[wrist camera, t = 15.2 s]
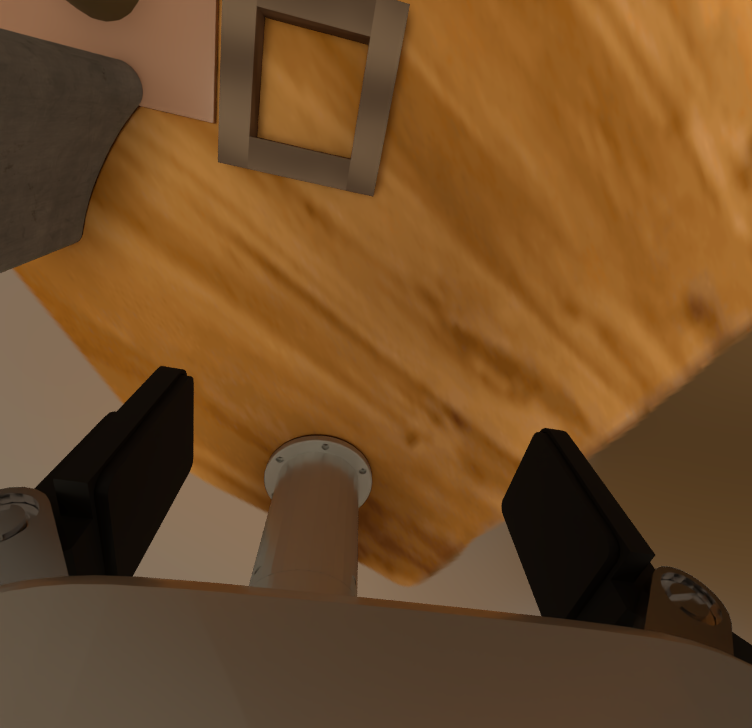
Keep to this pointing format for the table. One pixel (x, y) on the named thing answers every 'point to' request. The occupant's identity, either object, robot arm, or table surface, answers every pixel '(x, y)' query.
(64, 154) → the hip flask
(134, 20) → the terracotta tile
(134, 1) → the olive pawn shape
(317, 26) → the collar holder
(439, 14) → the table surface
